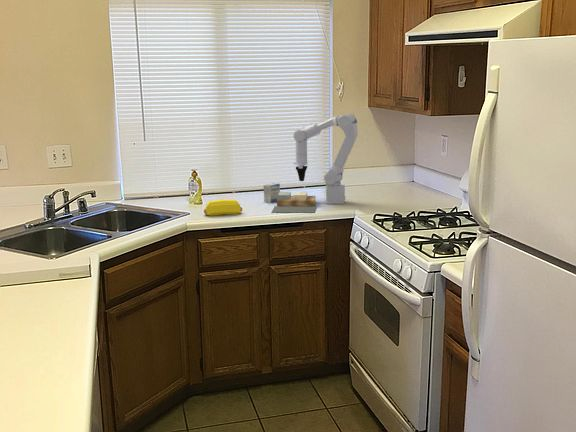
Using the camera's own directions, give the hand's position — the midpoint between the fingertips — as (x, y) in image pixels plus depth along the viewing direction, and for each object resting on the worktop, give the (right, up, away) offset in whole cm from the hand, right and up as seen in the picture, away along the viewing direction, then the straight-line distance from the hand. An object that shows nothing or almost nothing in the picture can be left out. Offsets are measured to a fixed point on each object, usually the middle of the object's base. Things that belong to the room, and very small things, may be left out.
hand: (301, 180), depth 325 cm
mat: (-4, -15, -21) cm, 26 cm away
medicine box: (-15, -10, +2) cm, 18 cm away
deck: (-3, -12, -7) cm, 14 cm away
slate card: (-9, -9, -7) cm, 14 cm away
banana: (-37, -17, -27) cm, 48 cm away
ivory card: (-1, -9, -8) cm, 12 cm away
